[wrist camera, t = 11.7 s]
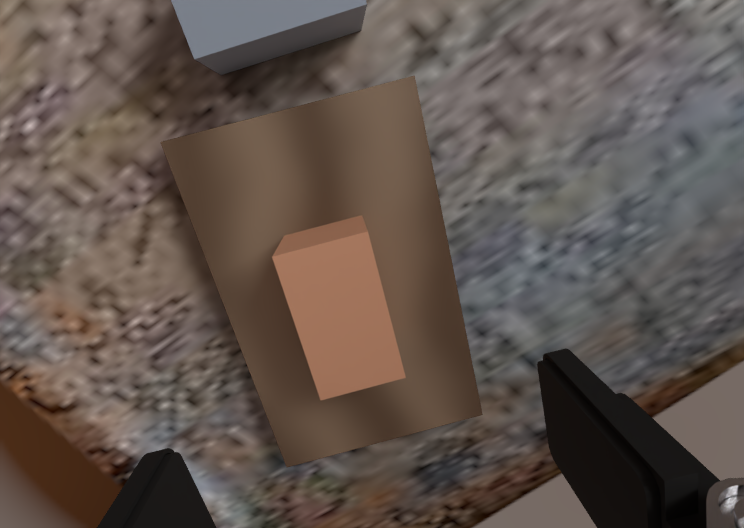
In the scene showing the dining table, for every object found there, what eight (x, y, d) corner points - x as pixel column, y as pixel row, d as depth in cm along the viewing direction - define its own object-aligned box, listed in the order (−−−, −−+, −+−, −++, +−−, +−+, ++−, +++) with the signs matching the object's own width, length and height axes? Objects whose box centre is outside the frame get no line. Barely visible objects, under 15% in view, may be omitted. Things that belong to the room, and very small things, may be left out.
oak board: (408, 80, 20) (414, 75, 19) (474, 399, 26) (482, 414, 24) (172, 142, 20) (160, 142, 19) (289, 449, 26) (286, 467, 24)
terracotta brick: (284, 235, 20) (272, 256, 17) (361, 215, 20) (368, 231, 17) (323, 356, 22) (320, 400, 19) (393, 337, 22) (405, 377, 19)
